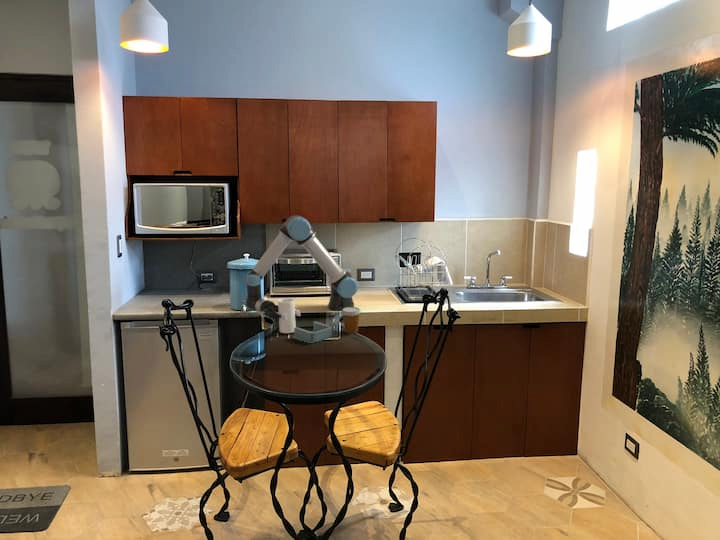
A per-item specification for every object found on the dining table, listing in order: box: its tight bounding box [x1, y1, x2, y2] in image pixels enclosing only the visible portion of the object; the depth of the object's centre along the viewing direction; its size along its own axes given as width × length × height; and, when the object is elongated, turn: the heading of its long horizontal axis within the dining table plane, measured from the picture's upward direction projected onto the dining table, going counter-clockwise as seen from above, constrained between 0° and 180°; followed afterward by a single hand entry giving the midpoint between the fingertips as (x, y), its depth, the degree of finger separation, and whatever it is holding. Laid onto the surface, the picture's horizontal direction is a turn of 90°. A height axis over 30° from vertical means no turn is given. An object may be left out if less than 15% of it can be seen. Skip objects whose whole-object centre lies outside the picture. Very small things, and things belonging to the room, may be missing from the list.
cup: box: [277, 297, 297, 334], centre depth 285 cm, size 8×8×16 cm
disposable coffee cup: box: [341, 306, 361, 335], centre depth 286 cm, size 10×10×12 cm
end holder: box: [292, 321, 337, 344], centre depth 280 cm, size 16×14×5 cm
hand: (292, 315), depth 282 cm, fingers closed on cup, 8 cm apart
